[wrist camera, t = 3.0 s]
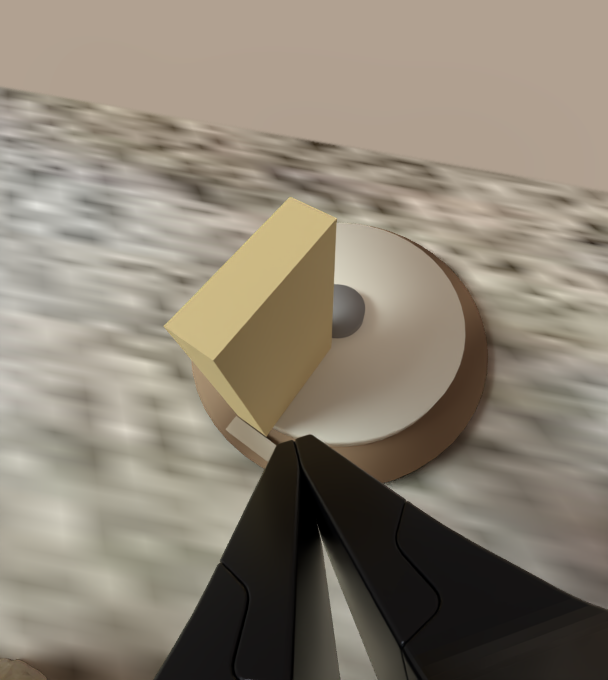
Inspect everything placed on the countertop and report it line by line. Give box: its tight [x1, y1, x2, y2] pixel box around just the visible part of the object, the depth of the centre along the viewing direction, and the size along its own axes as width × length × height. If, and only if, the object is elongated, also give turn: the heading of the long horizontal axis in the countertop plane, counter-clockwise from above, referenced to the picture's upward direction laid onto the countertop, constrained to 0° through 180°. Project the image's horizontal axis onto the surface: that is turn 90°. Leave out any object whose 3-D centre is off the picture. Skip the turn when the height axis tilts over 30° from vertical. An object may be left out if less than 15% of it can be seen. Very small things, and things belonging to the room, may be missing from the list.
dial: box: [164, 197, 465, 447], centre depth 13 cm, size 11×12×8 cm
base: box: [191, 226, 488, 483], centre depth 17 cm, size 14×14×1 cm
